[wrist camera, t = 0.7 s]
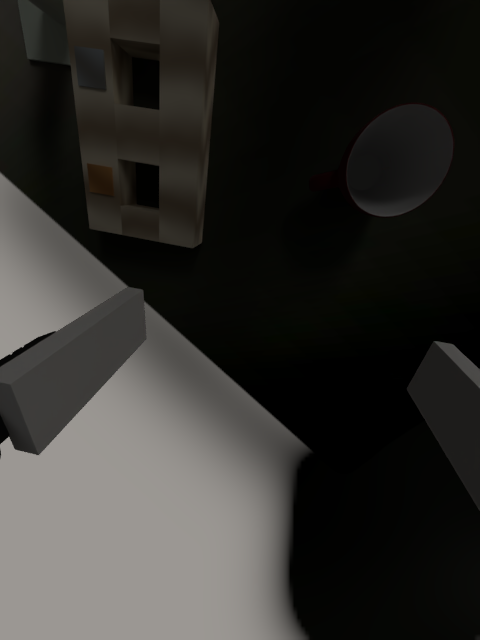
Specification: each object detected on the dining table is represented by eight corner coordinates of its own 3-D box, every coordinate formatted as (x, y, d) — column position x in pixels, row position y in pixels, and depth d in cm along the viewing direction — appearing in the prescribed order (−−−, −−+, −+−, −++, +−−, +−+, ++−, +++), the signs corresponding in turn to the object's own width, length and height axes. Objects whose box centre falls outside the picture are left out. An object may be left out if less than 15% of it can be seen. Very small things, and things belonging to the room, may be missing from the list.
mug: (314, 226, 33) (324, 239, 24) (299, 156, 30) (305, 142, 21) (405, 197, 30) (455, 199, 21) (399, 117, 27) (455, 80, 18)
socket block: (89, 6, 27) (58, -24, 23) (219, 22, 26) (208, -6, 22) (108, 225, 37) (88, 228, 33) (201, 242, 36) (192, 248, 32)
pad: (7, -77, 25) (3, -81, 25) (103, -67, 24) (100, -71, 24) (30, 60, 30) (27, 58, 29) (111, 71, 29) (109, 70, 29)
